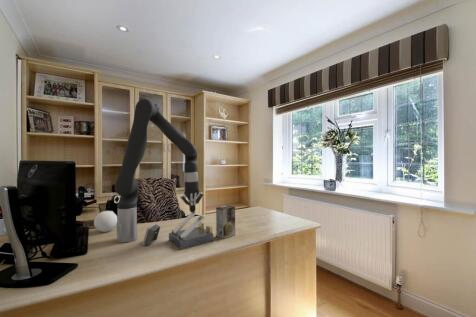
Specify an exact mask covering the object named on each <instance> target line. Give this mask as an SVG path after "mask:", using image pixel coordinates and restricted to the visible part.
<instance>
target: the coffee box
mask: <svg viewBox="0 0 476 317" xmlns="http://www.w3.org/2000/svg"><path fill="white" fill-rule="evenodd" d="M215 208H216V209H215V212H216V213H215V216H216V217H215V218H216V220H215V221H216V222H215V223H216V224H215V226H216V230H215V231H216V234H215V235H216V237H218V238H220V239H223V240H224V239H227V238H231V237H233V236H235V235H236V207H235V206H234V205H230V204H225V205H221V206H218V207H215Z"/></svg>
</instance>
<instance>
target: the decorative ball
mask: <svg viewBox="0 0 476 317" xmlns="http://www.w3.org/2000/svg"><path fill="white" fill-rule="evenodd" d="M117 222H118V215H117V214H116V213H115V212H114V211H113V210H103V211H101V212H99V213H98V214H97V215H96V216H95V218H94V220H93V226H94V228H95V229H96V230H98V231H99V232H101V233H102V232H105V233H106V232H110V231H112V230H113V229H114V228H115V227H117Z"/></svg>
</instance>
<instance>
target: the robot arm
mask: <svg viewBox="0 0 476 317" xmlns="http://www.w3.org/2000/svg"><path fill="white" fill-rule="evenodd" d="M149 122H151V123H153V124H154V125H155V126H156V127H157V128H158V129H159V130H160V131H161V132H162V133H163V135H164V136H165V137H166V138H167V140H169V141H170V142H171V143H172V144H173V145H174V146H176V147H177V148H178V149H179V151H180V152H181V153H182V154H183V155H184V161H185V162H184V165H183V168H184V169H183V170H184V176H183V178H184V179H183V181H184V182H183V183H184V184H183V185H184V193H183V194H182V195H181V196H180V199H181V200H182V202H183V203H184V204H185V205H187V206H189V211H190V213H191V212H195V213H196V205H198V204H199V203H200V201H201V200H202V198H203V196H204V193H201V192H200V190H199V173H198V172H199V171H198V148H197V146H196V145H195V144H193V143H192V142H191V141H189V139H188V138H186V136H185V135H184V134H183V133H182V132H181V131H180V130H179V129H178V128H176V126H174V124H172V123H171V122H169V121H168V120H167V119H166V118H165V116H164V115H162V113H161V112H160V110H159V109H158V108H157V107H156V105H155V104H154V103H153V102H152V101H151V100H150V99H146V98H143V99H140V100H138V101H137V103H136V104H135V107H134V115H133V122H132V125H131V129H130V132H129V136H128V140H127V143H126V147H125V152H124V156H123V159H122V164H121V167H120V169H119V170H120V171H119V173H118V176H117V178H116V180H115V185H114V190H115V193H116V194H117V195H118V196H120V198H119V201H118V202H117V224H116V240H117V242H118V244H121V243H130V242H133V241H136V240H137V239H138V222H137V221H138V220H137V219H138V216H137V215H138V213H137V212H138V209H137V207H138V205H137V204H138V200H139V182H138V180H137V179H136V178H135V174H136V171H137V169H138V167H139V165H140V164H141V162H142V160H143V158H144V155H145V151H146V149H147V143H148V134H147V133H148V125H149ZM186 198H187V199H186Z"/></svg>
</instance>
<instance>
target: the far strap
mask: <svg viewBox="0 0 476 317" xmlns="http://www.w3.org/2000/svg"><path fill="white" fill-rule="evenodd" d="M195 215H196V211H195V212H190V213H189V214H188V215H187V216H186V217H185V218H184V219H183V220H182V221H181V222H180V223H179V224H178V225H177V226H176V227H175V228H174V229H173V230H174V231H173V233H174V234H175V233H176V232H179V231H181V229H182V230H183V228H184V227H185V226H186V225H187V224H188V222H190V221H191V219H192V218H193V217H194V216H195Z"/></svg>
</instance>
